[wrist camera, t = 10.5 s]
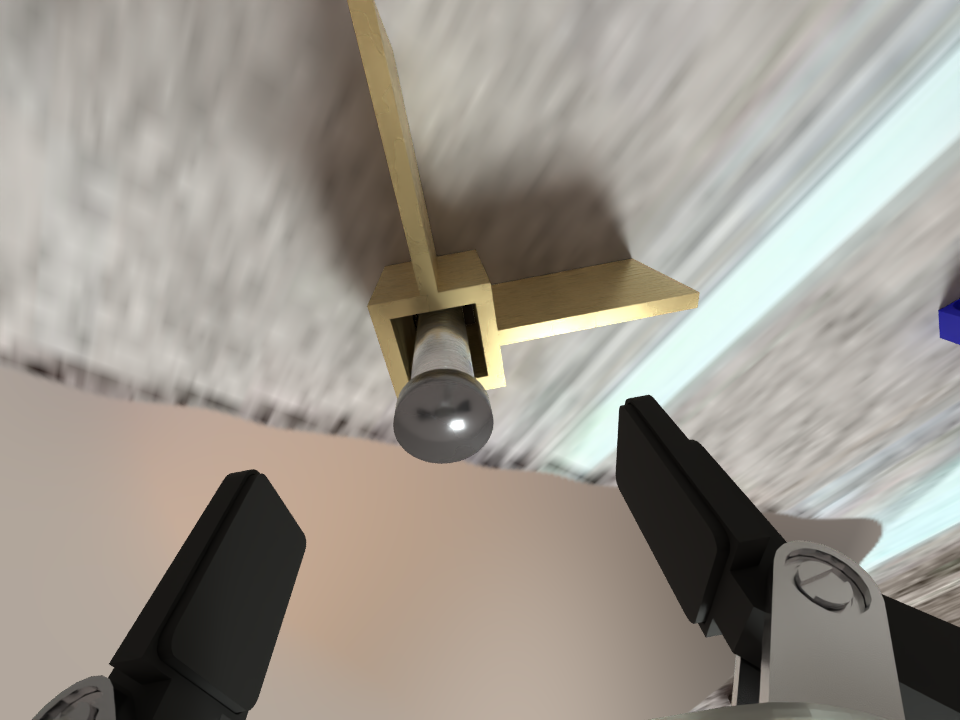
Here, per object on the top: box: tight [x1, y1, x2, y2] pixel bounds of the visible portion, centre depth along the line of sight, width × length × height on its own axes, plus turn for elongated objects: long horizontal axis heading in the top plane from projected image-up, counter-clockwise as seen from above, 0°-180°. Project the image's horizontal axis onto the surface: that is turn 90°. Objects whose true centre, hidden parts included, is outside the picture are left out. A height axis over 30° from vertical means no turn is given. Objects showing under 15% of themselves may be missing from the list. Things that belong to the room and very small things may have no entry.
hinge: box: [347, 0, 699, 399], centre depth 19 cm, size 16×16×7 cm
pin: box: [393, 306, 493, 464], centre depth 18 cm, size 3×3×13 cm
